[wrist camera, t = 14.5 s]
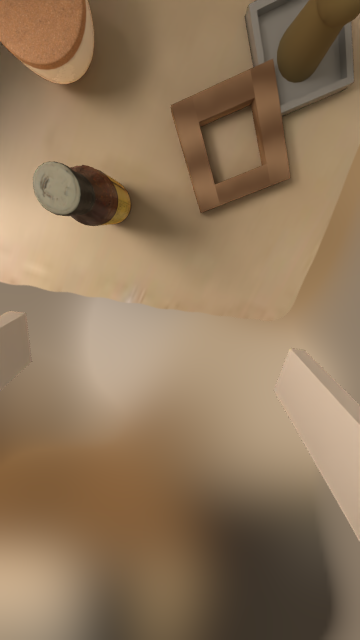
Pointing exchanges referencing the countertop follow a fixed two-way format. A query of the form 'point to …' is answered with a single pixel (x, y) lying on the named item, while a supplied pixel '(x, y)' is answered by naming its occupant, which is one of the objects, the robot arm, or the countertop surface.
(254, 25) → the tray
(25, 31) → the lidded jar
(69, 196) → the sauce bottle
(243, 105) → the socket block
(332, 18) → the olive brown bulbous peg
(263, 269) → the countertop surface
